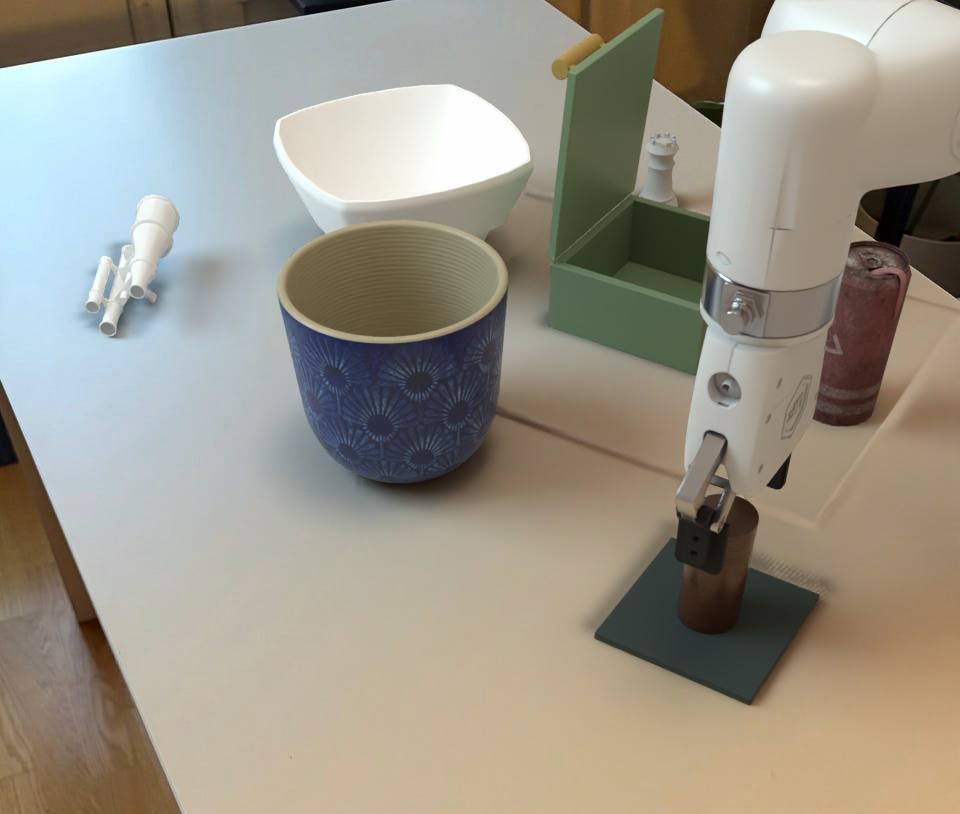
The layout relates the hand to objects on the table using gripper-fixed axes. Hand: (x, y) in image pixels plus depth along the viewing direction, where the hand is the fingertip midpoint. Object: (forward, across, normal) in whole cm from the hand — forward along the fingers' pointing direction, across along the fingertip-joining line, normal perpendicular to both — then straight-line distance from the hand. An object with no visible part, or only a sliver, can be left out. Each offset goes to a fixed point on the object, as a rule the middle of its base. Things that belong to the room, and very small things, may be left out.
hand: (730, 522), depth 81 cm
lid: (-6, +33, +27) cm, 43 cm away
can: (+9, +27, +2) cm, 29 cm away
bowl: (+9, +29, +47) cm, 56 cm away
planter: (+9, +4, +30) cm, 32 cm away
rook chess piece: (+10, +49, +30) cm, 59 cm away
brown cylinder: (+8, -1, 0) cm, 8 cm away
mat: (+9, -1, 0) cm, 9 cm away
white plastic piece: (+9, +10, +65) cm, 67 cm away
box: (+9, +32, +21) cm, 40 cm away
